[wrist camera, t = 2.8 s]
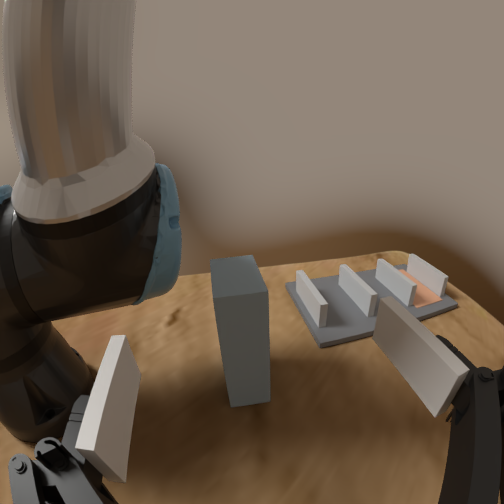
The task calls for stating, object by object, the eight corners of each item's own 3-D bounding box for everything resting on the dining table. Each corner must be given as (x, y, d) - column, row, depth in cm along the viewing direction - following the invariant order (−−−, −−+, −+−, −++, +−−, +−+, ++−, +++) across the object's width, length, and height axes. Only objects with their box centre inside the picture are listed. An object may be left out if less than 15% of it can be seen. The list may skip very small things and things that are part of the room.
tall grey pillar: (230, 407, 25) (213, 298, 20) (224, 361, 31) (209, 259, 26) (270, 401, 25) (268, 291, 20) (258, 356, 32) (252, 254, 27)
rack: (319, 348, 32) (322, 320, 31) (285, 287, 47) (285, 263, 45) (456, 307, 35) (463, 284, 34) (404, 267, 50) (407, 247, 48)
